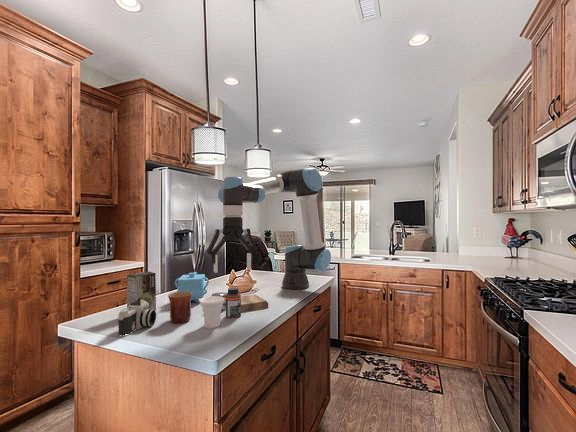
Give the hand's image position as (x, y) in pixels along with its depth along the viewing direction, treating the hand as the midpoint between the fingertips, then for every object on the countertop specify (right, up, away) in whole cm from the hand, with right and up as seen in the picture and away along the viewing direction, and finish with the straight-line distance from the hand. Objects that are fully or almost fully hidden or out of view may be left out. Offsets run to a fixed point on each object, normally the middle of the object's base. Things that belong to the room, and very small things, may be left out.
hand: (232, 270), depth 122 cm
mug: (-19, -18, -3) cm, 27 cm away
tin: (-7, -18, +10) cm, 22 cm away
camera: (-31, -19, -12) cm, 38 cm away
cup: (-6, -18, -10) cm, 22 cm away
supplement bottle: (0, -18, 0) cm, 18 cm away
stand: (+4, -18, +15) cm, 24 cm away
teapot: (-24, -18, +28) cm, 41 cm away
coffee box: (-38, -19, +6) cm, 43 cm away
